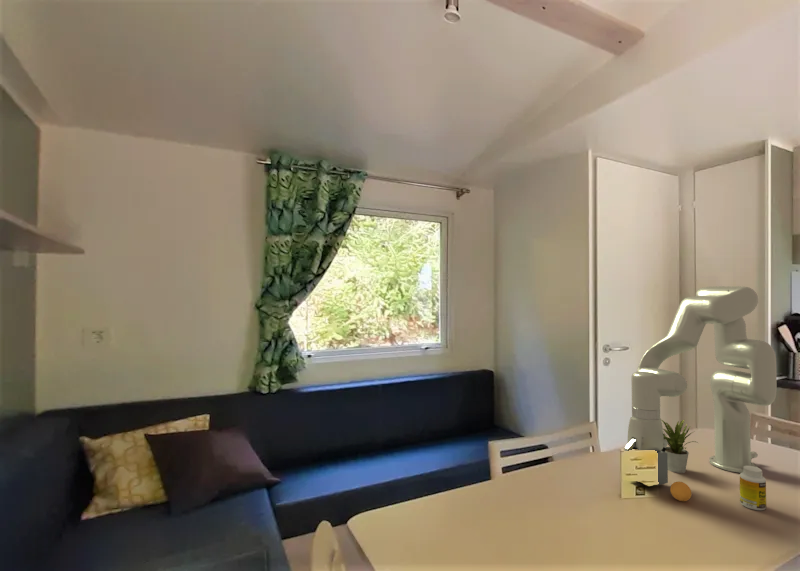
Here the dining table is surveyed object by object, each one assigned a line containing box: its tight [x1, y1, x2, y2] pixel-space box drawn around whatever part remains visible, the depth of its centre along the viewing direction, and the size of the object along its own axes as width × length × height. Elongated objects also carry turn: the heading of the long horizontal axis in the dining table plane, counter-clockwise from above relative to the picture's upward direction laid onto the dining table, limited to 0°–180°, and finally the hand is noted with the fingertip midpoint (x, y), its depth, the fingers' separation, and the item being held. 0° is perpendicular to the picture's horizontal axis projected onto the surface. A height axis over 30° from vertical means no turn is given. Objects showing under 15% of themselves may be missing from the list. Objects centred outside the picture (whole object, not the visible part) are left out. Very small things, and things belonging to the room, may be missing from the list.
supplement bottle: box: [739, 466, 767, 511], centre depth 119 cm, size 6×6×10 cm
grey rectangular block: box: [657, 451, 669, 486], centre depth 133 cm, size 8×8×9 cm
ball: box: [669, 481, 692, 502], centre depth 122 cm, size 5×5×5 cm
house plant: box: [661, 419, 699, 474], centre depth 144 cm, size 14×14×16 cm
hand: (646, 471), depth 133 cm, fingers closed on grey rectangular block, 7 cm apart
